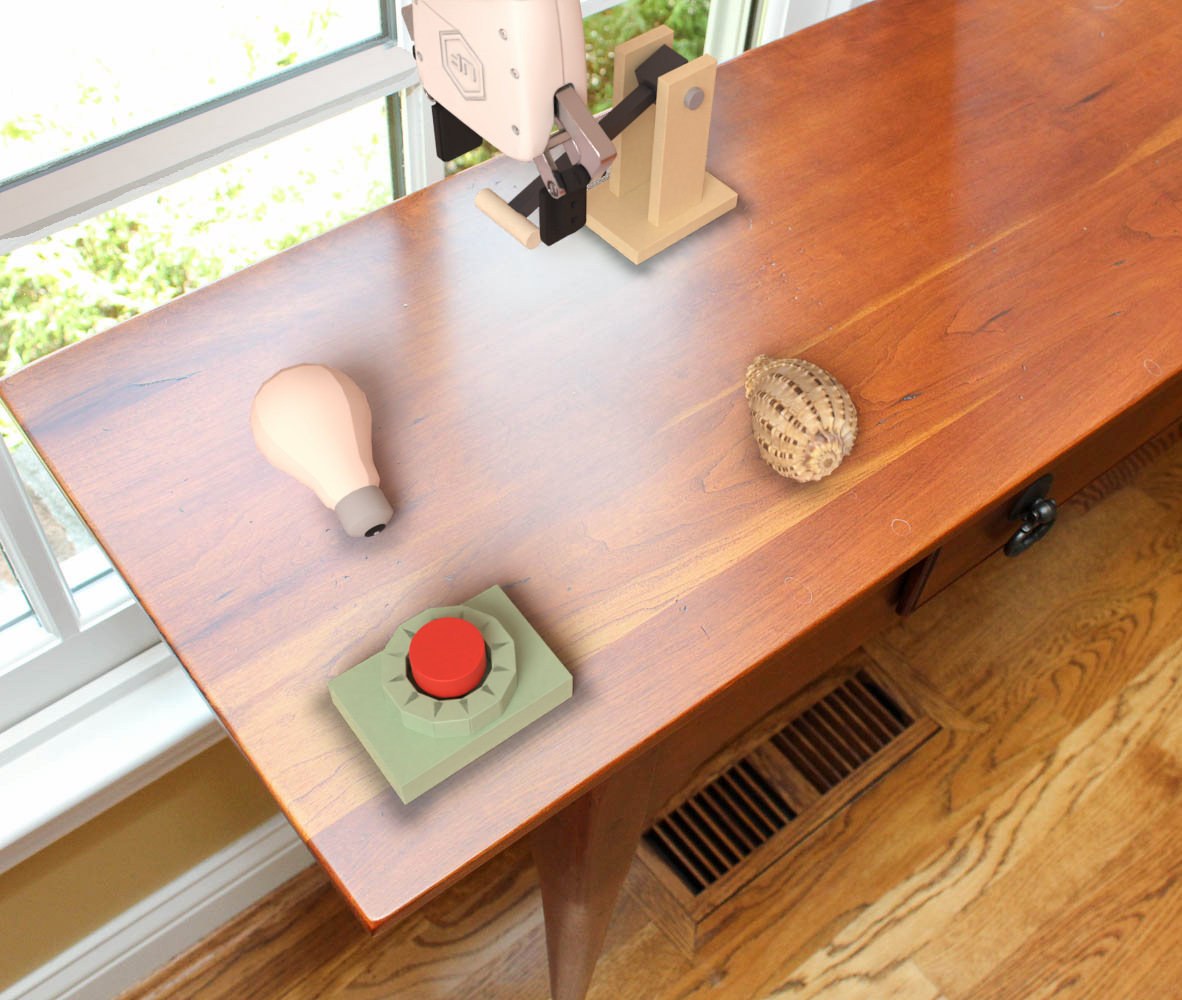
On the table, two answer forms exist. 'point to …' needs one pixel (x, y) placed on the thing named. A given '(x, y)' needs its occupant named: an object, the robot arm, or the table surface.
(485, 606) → the control block
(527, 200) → the lever
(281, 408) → the light bulb
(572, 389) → the table surface
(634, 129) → the bracket
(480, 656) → the button
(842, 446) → the seashell
